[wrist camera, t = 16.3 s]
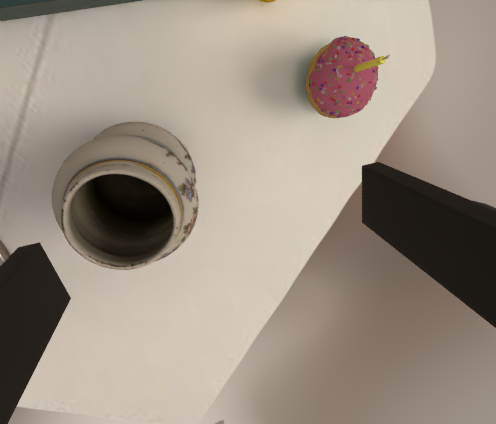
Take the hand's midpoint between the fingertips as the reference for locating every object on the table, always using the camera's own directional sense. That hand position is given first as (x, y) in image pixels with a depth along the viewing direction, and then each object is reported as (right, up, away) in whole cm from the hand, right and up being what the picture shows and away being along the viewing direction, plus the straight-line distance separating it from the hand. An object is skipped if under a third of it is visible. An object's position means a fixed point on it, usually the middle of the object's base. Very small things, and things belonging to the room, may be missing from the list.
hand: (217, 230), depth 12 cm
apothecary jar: (-12, +7, +26) cm, 30 cm away
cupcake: (+11, +18, +27) cm, 34 cm away
